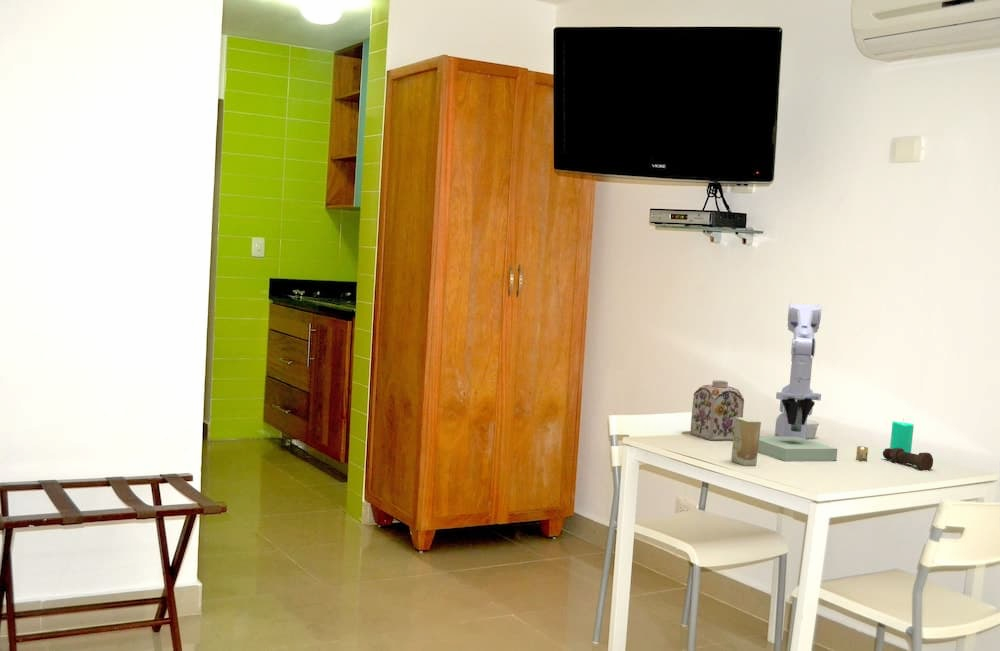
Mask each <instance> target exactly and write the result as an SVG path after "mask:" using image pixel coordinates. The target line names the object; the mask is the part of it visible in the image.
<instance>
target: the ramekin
mask: <svg viewBox="0 0 1000 651" xmlns="http://www.w3.org/2000/svg"><path fill="white" fill-rule="evenodd" d="M819 424H820V423H819V422H818V421H816V420H812V419H807V425H806V436H805V439H807V440H813V439H815V437H816V435H817V430H818V427H819Z"/></svg>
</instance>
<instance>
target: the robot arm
mask: <svg viewBox="0 0 1000 651" xmlns="http://www.w3.org/2000/svg"><path fill="white" fill-rule="evenodd" d="M821 316H822V306H821V305H820V304H818V305H817V304H807V303H806V304H804V303H795V302H794V303H793V302H790V303H789V304H788V313H787V327H788V328H787V330H788V331H790V332H792V333H793V334H792V335H793V338H792V339H791V340H792V341H791V350H790V355H791V358H790V360H791V364H790V365H791V366H790V377H789V384H787V385H785V386H784V387H782V389H781V391H780V392H779V391H778V392H776V395H775V399H776V400H780V401H779V411H780V414H778V416H776V420H775V430H774V437H800V438H803V439H805V436H806V425H807V420H808V417H809V416H811V415H813V409H814V406H815V401H822V400H821V399H822V393H818V392H813V390H812V389H811V381H812V380H811V378H812V369H813V368H812V367H813V358H814V357H815V353H816V338H815V333H818V330H819V328H820V324H821V319H822V318H821ZM798 407H803V417H802V428H801V432H795V431H791V425H794V424H795V419H796V412H797V409H798Z"/></svg>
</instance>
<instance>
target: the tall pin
mask: <svg viewBox="0 0 1000 651" xmlns="http://www.w3.org/2000/svg"><path fill="white" fill-rule="evenodd" d="M802 417H803V407H798V409H797V412H796V419H795V424H794V425H791V431H795V432H801V428H802Z"/></svg>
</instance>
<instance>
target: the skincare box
mask: <svg viewBox="0 0 1000 651" xmlns="http://www.w3.org/2000/svg"><path fill="white" fill-rule="evenodd" d="M761 424H762V422H761V421H759V420H757V419H754V418H750V417H743V418H741V417H739V418H736V420H735V429H734V438H733V440H732V449H731V457H730V458H731V459H730V460H731V462H732V461H733V462H735V463H736V464H740V465H741V466H757V462H758V453H759V452H758V445H759V437H761V435H760V434H761V427H762V425H761Z"/></svg>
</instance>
